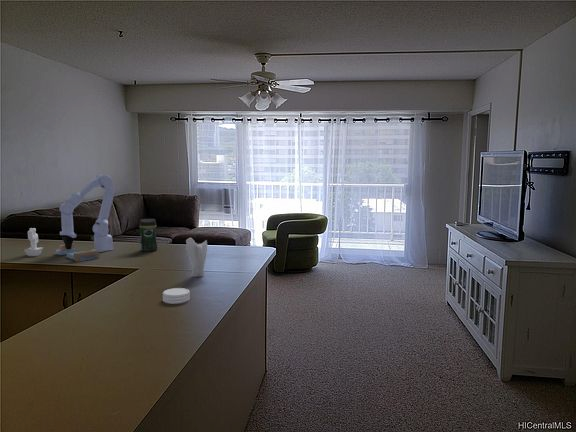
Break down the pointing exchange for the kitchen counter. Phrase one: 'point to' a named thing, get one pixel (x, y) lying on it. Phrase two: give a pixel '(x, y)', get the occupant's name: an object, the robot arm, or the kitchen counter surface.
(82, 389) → the kitchen counter surface
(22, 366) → the kitchen counter surface
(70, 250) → the slab with raised block
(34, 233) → the figurine
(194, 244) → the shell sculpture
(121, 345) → the kitchen counter surface
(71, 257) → the striped blue tabbed panel
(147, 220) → the coffee jar
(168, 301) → the coaster
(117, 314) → the kitchen counter surface
